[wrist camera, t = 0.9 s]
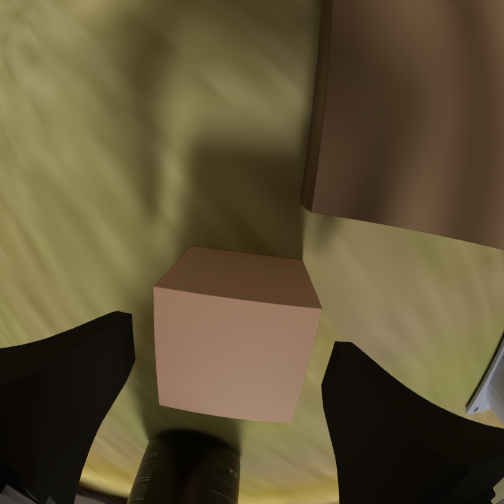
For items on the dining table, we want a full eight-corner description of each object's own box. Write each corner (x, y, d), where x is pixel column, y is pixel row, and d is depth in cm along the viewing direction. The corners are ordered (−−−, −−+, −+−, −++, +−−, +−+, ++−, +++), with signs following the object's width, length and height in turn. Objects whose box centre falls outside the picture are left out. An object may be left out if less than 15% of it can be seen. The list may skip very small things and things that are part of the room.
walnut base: (518, 45, 9) (545, 36, 6) (514, 247, 12) (546, 261, 9) (323, -44, 9) (333, -77, 6) (300, 203, 12) (311, 212, 10)
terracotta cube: (302, 259, 13) (322, 309, 8) (284, 352, 15) (290, 423, 10) (191, 245, 13) (153, 286, 8) (187, 339, 15) (159, 404, 10)
